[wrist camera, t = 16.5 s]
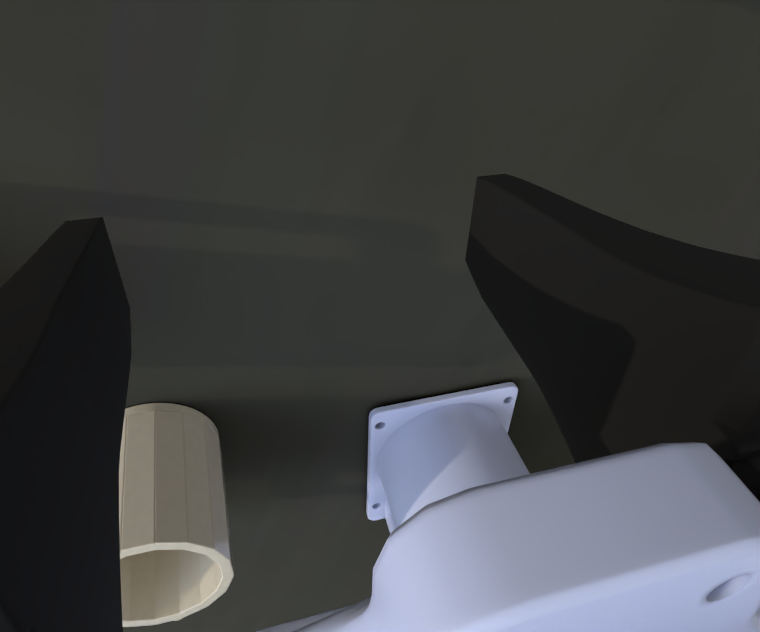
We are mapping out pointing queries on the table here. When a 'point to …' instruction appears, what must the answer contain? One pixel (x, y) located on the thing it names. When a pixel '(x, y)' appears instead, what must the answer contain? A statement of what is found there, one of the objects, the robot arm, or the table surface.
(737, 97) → the table surface
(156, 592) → the cream cup
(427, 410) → the robot arm
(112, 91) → the table surface
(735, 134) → the table surface
